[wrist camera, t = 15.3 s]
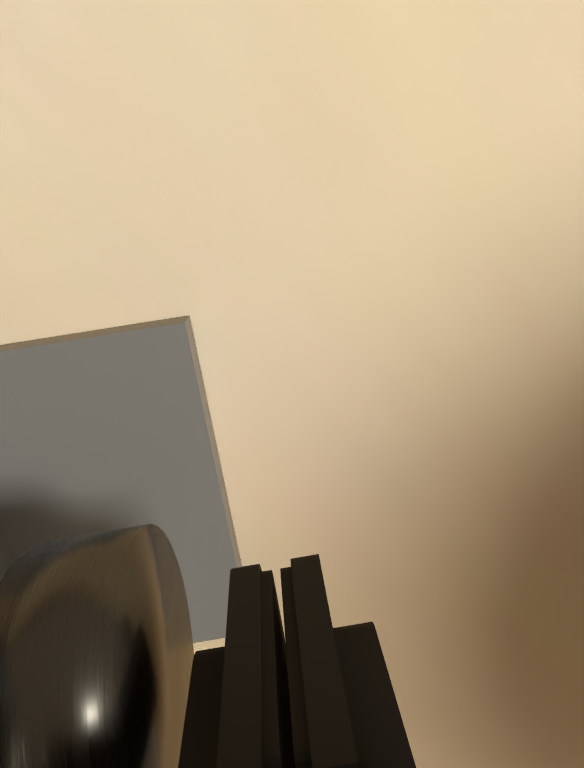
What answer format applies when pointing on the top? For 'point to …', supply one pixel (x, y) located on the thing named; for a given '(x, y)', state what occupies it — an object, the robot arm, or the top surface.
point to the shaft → (94, 653)
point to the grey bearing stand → (117, 452)
